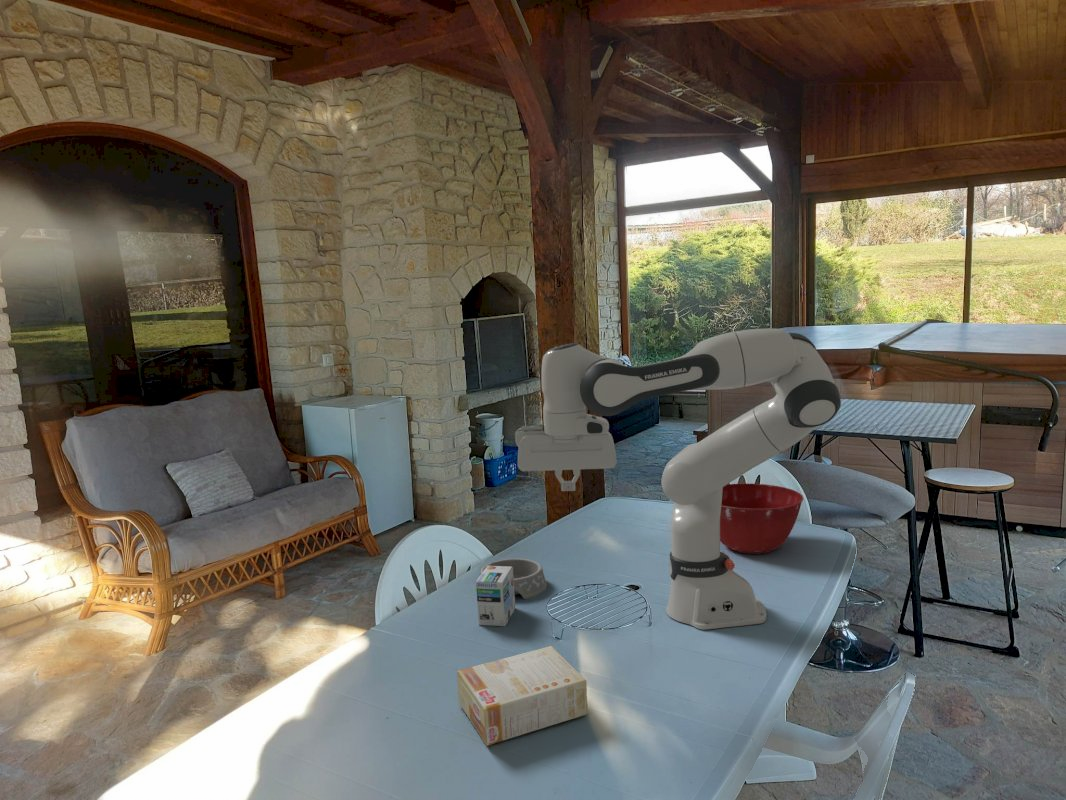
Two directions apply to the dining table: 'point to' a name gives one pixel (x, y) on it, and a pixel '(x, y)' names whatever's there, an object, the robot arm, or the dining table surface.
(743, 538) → the mixing bowl
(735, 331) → the robot arm
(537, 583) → the dog bowl
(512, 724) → the coffeecake box
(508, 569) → the light bulb box
